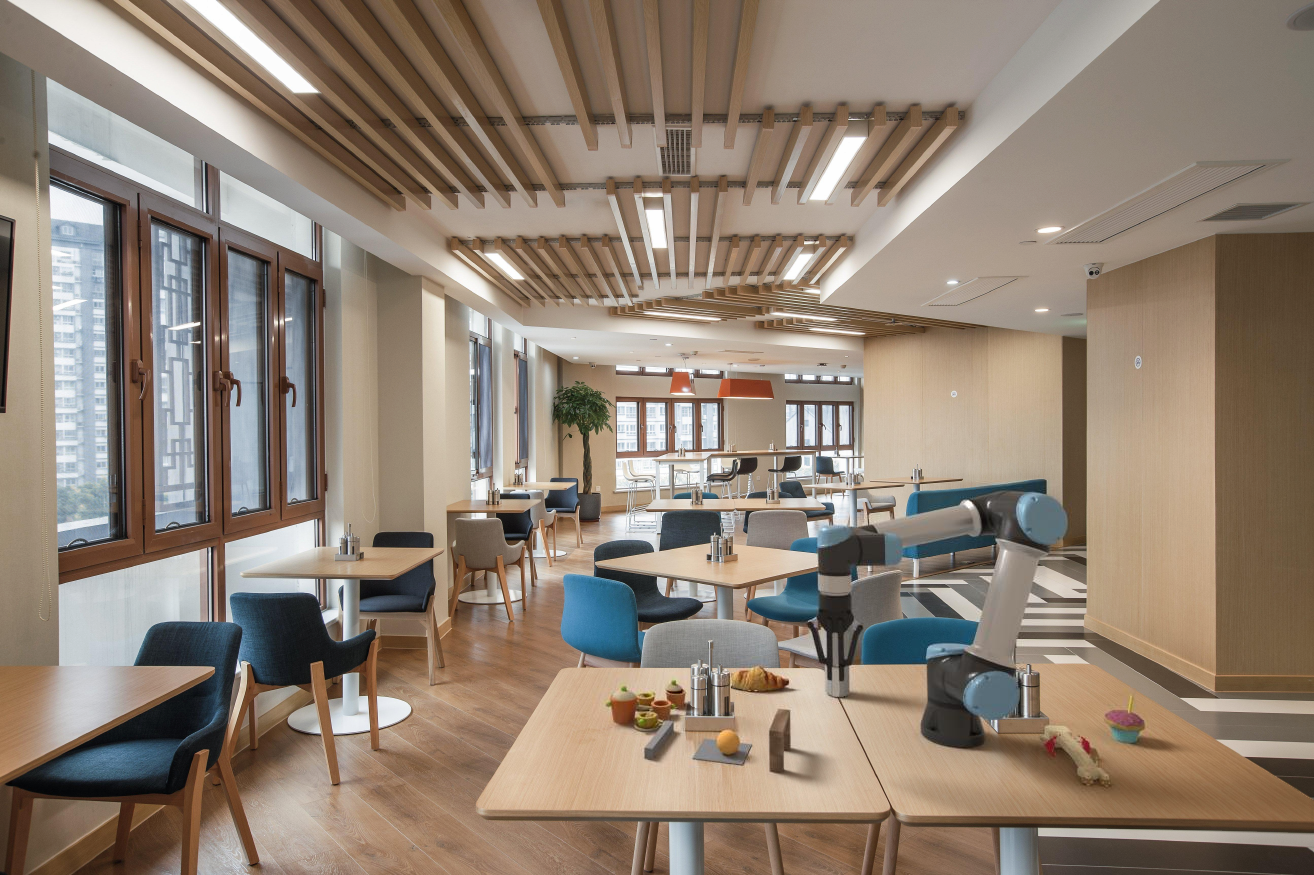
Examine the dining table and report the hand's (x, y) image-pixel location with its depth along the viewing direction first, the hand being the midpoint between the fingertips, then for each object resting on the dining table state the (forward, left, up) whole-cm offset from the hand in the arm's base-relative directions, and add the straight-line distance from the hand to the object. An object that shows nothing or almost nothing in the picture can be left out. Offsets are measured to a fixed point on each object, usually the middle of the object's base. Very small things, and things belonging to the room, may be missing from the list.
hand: (836, 694), depth 163 cm
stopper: (+43, 0, -16) cm, 46 cm away
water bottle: (+3, -51, -17) cm, 54 cm away
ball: (+25, +1, -14) cm, 29 cm away
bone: (-52, -19, -17) cm, 58 cm away
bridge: (+13, 0, -16) cm, 21 cm away
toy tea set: (+52, -19, -17) cm, 58 cm away
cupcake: (-68, -36, -17) cm, 79 cm away
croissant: (+28, -50, -17) cm, 60 cm away
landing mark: (+27, 0, -16) cm, 32 cm away
